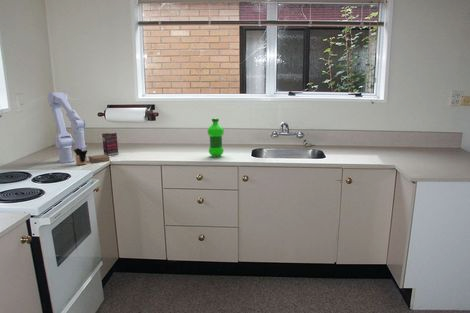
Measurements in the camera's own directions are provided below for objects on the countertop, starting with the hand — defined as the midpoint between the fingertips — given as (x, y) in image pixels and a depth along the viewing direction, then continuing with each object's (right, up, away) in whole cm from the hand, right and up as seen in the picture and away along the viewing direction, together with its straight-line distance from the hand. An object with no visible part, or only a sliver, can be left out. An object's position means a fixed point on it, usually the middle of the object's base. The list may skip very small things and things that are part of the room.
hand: (81, 161), depth 238 cm
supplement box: (+10, +3, +27) cm, 29 cm away
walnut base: (+7, 0, +11) cm, 13 cm away
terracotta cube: (0, -2, 0) cm, 2 cm away
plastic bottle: (+82, +3, +19) cm, 84 cm away
